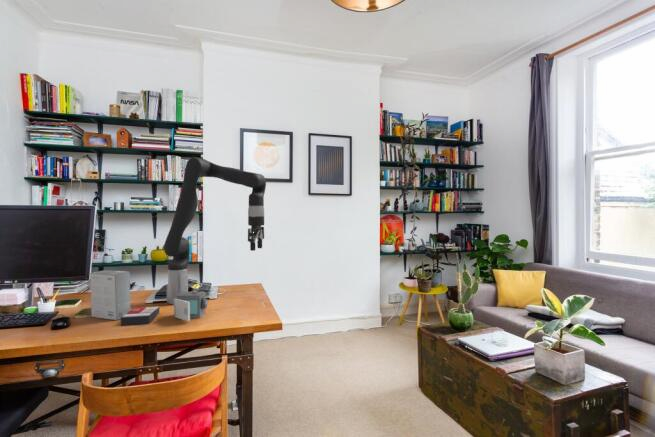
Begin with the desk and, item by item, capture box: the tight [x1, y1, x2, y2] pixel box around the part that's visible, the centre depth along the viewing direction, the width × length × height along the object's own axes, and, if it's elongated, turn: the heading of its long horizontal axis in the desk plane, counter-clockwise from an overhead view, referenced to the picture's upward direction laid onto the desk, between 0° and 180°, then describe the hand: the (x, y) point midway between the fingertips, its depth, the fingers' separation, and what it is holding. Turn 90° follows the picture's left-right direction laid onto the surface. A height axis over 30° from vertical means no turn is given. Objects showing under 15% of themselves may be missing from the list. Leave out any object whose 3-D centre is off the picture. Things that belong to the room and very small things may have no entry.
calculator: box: [120, 306, 160, 327], centre depth 148 cm, size 11×4×15 cm
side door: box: [175, 299, 191, 322], centre depth 144 cm, size 9×2×8 cm, turn 57°
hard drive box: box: [89, 269, 132, 321], centre depth 151 cm, size 16×8×20 cm, turn 71°
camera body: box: [173, 289, 209, 319], centre depth 151 cm, size 13×8×11 cm, turn 91°
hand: (256, 249), depth 161 cm, fingers open, 8 cm apart
